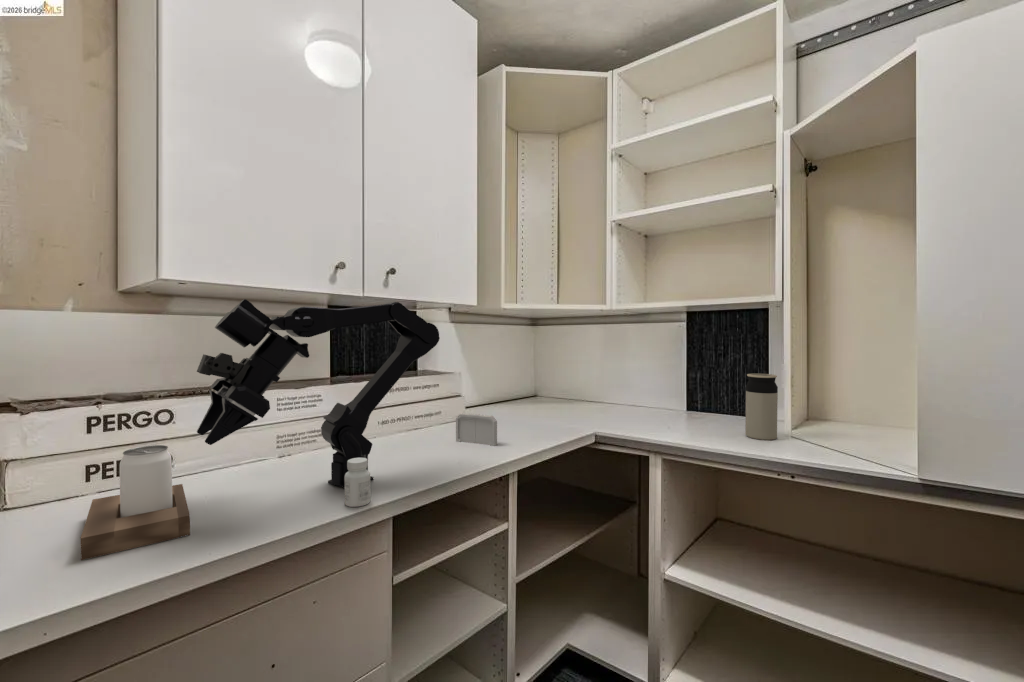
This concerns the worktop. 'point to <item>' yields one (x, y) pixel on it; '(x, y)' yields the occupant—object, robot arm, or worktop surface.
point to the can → (145, 480)
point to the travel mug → (761, 407)
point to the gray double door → (476, 429)
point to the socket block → (132, 525)
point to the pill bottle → (357, 483)
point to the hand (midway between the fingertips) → (203, 438)
